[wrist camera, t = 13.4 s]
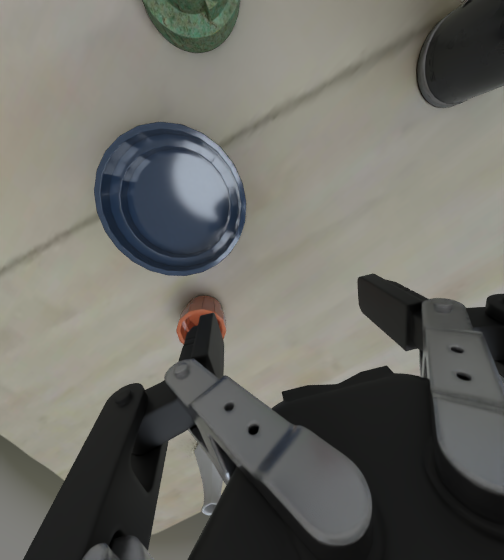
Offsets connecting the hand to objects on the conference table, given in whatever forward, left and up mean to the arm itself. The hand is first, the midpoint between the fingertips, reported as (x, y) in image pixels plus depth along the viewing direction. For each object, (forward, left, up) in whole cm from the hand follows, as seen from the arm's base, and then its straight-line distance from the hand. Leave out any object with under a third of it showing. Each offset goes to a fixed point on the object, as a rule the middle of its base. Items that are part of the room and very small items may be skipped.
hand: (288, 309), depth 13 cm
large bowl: (+8, -6, -22) cm, 24 cm away
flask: (+15, +40, -22) cm, 48 cm away
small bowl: (+9, +10, -22) cm, 26 cm away
